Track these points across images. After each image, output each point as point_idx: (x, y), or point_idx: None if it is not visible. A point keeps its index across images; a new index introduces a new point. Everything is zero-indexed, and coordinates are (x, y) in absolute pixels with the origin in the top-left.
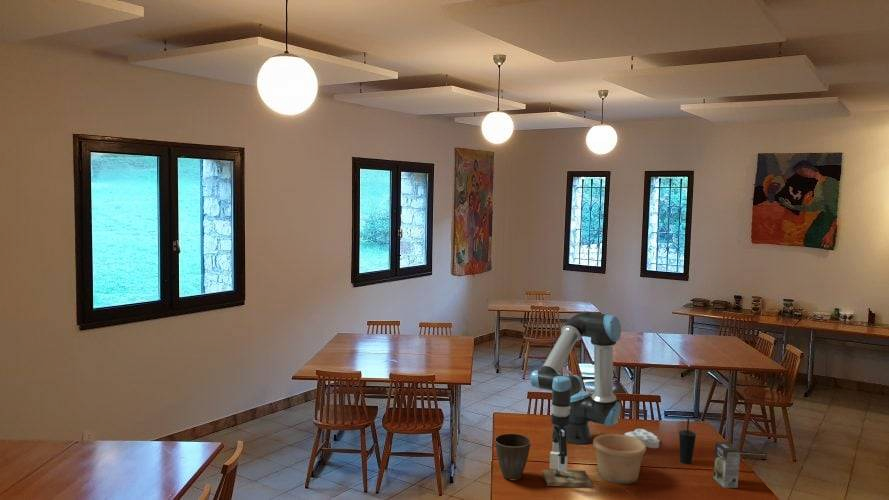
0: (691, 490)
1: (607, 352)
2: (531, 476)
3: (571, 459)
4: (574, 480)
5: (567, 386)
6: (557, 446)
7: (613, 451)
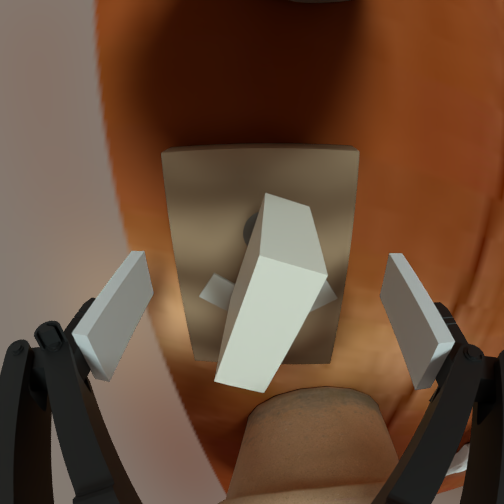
0: (227, 481)
1: None
2: (317, 68)
3: (477, 320)
4: (207, 304)
5: None
6: (412, 352)
7: None
